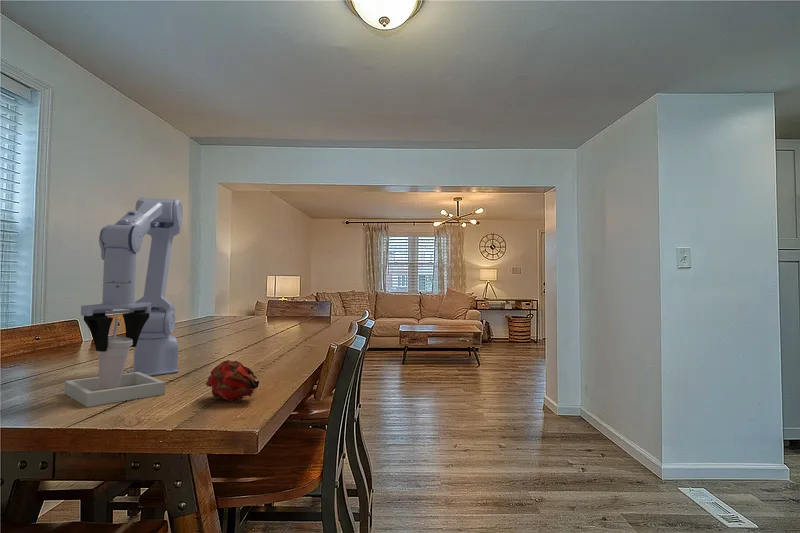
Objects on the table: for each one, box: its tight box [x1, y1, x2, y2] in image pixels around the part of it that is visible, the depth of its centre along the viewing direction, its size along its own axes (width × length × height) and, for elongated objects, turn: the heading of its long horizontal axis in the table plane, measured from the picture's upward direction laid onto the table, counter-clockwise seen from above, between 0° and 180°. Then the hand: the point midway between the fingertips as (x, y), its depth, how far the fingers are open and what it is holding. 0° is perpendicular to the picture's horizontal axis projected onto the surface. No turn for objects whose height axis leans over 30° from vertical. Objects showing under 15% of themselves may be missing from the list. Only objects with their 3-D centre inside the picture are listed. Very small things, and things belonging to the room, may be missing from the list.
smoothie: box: [98, 317, 133, 389], centre depth 98 cm, size 6×6×14 cm
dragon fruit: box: [205, 359, 260, 404], centre depth 96 cm, size 8×8×12 cm
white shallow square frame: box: [64, 372, 166, 408], centre depth 98 cm, size 14×14×2 cm
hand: (116, 348), depth 98 cm, fingers closed on smoothie, 6 cm apart
